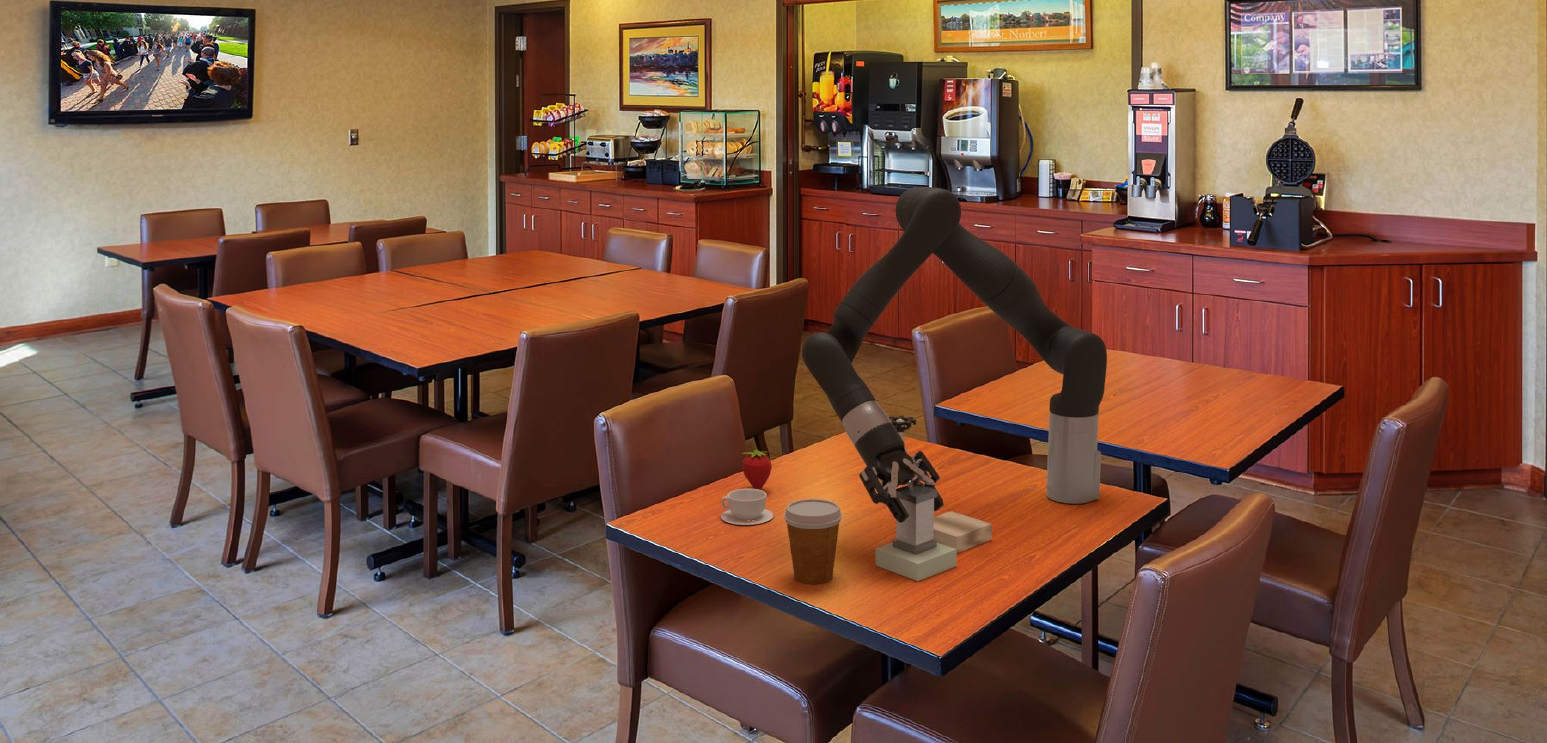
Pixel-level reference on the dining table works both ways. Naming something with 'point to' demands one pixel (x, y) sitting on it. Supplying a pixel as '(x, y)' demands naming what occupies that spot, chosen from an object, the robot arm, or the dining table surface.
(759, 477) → the strawberry
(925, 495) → the grey square pillar
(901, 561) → the stand
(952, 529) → the stand
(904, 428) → the valve
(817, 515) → the disposable coffee cup
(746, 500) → the teacup
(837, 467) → the dining table surface
